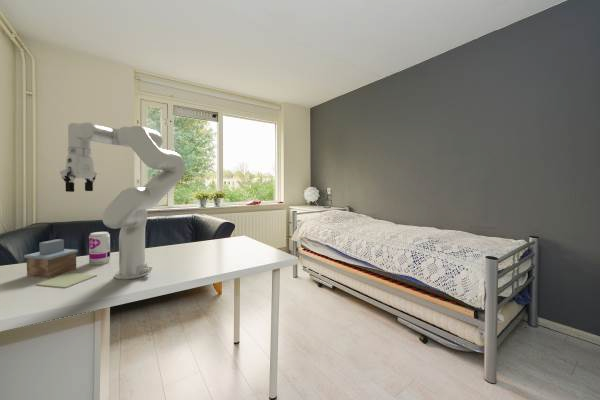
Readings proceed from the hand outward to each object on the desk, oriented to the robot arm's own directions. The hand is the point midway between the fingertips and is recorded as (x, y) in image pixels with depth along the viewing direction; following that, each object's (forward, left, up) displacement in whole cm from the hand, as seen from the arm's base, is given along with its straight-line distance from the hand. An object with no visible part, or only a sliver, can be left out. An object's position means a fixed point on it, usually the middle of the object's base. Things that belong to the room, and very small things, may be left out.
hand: (79, 191), depth 112 cm
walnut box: (+9, +5, -36) cm, 37 cm away
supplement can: (+2, -11, -36) cm, 38 cm away
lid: (+9, +5, -29) cm, 31 cm away
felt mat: (-6, +11, -36) cm, 38 cm away
